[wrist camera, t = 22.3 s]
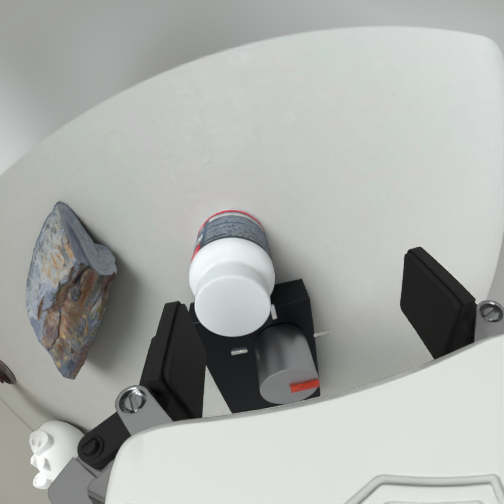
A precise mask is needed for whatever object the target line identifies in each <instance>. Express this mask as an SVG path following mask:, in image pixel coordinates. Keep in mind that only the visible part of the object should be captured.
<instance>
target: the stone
mask: <svg viewBox="0 0 504 504" xmlns="http://www.w3.org/2000/svg"><path fill="white" fill-rule="evenodd" d="M115 260H116V259H115V257H114V255H113V254H112V252H111V251H110V249H109V247H108V246H104V245H100V244H96V243H93V241H92V239H91V237H90V236H89V235H88V234H87V232H86V231H85V229H84V228H83V226H82V224H81V223H80V221H79V220H78V218H77V217H76V216H75V214H74V213H73V212H72V211H71V209H70V208H69V207H68V206H67V205H66V204H64V203H62V202H60V201H59V202H58V203H57V204H56V205H55V206H54V208H53V211H52V213H51V214H49V216H48V217H47V219H46V221H45V222H44V225H43V227H42V230H41V232H40V235H39V238H38V239H37V241H36V245H35V248H34V252H33V257H32V261H31V265H30V270H29V273H28V278H27V285H26V309H27V312H28V317H29V319H30V322H31V325H32V327H33V328H34V331H35V333H36V336H37V338H38V340H39V342H40V343H41V344H42V346H43V347H44V348H45V349H46V350H47V351H48V353H49V354H50V355H51V357H52V359H53V361H54V363H55V365H56V367H57V368H58V370H59V371H60V373H61V374H62V376H63V377H65V378H69V379H73V380H74V379H75V378H76V376H77V374H78V373H79V370H80V369H81V367H82V366H83V365H84V362H85V360H86V356H87V350H88V348H89V347H90V345H91V344H92V343H93V342H94V338H95V335H96V333H97V330H98V328H99V324H100V323H101V320H102V317H103V314H104V312H105V311H106V306H107V302H108V293H109V290H110V283H111V282H112V281H113V280H114V278H115V276H116V273H117V267H116V265H115V263H114V262H115Z"/></svg>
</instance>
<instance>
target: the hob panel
mask: <svg viewBox="0 0 504 504" xmlns="http://www.w3.org/2000/svg"><path fill="white" fill-rule="evenodd" d="M270 302H271V309H270V314H269V316H268V318H267V320H266V321H265V323H264V324H263V325H262V326H261V327H260V328H258V329H257V330H255V331H254V332H252V333H249V334H246V335H243V336H235V337H230V336H222V335H219V334H216V333H214V332H212V331H210V330H208V329H207V328H206V327H205V326H204V325H203V324H202V323H201V322H200V321H199V319H198V317H197V315H196V312H195V302H194V303H191V304H190V309H189V314H190V317H191V319H192V321H193V323H194V326H195V328H196V330H197V332H198V334H199V337H200V339H201V341H202V343H203V345H204V347H205V350H206V366H207V368H208V370H209V371H210V373H211V375H212V377H213V379H214V381H215V383H216V385H217V387H218V389H219V391H220V392H221V394H222V396H223V398H224V400H225V402H226V403H227V405H228V407H229V409H230V411H231V412H232V413H239V412H246V411H252V410H258V409H264V408H269V407H274V406H279V405H284V404H276V403H272V402H269V401H267V400H265V399H264V398H263V397H262V396H261V394H260V388H259V379H258V370H257V361H256V352H255V341H256V339H257V337H258V335H259V334H260V333H261V332H262V331H264V330H265V329H267V328H269V327H271V326H274V325H278V324H291V325H294V326H297V327H298V328H300V329H301V330H302V331H303V332H304V334H305V336H306V340H307V343H308V346H309V349H310V352H311V355H312V359H313V362H314V365H315V368H316V372H317V375H318V364H317V355H316V345H315V337H317V336H321V335H325V334H328V333H329V329H328V330H324V331H320V332H316V333H314V328H313V320H312V312H311V304H310V298H309V295H308V293H307V290H306V288H305V286H304V283H303V281H302V279H299V280H295V281H290V282H286V283H282V284H277V285H274V288H273V291H272V293H271V295H270ZM318 378H319V375H318ZM319 396H320V386H319V387H317V389H316V390H315V392H314V393H313V394H311V395H310V396H309V397H307V398H305V399H303V400H307V399H311V398H315V397H319ZM301 401H302V400H301Z"/></svg>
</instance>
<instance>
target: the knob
mask: <svg viewBox="0 0 504 504" xmlns="http://www.w3.org/2000/svg"><path fill="white" fill-rule="evenodd" d="M255 352H256V361H257V370H258V379H259V388H260V394H261V396H262V397H263V398H264V399H265V400H267V401H269V402H272V403H276V404H289V403H294V402H298V401H301V400H303V399H305V398H307V397H309V396H310V395H311V394H313V393H314V392H315V390H316V389H317V387H319V386H320V385H319V378H318V375H317V372H316V368H315V365H314V362H313V359H312V355H311V352H310V349H309V346H308V343H307V340H306V336H305V334H304V332H303V331H302V330H301V329H300V328H298V327H297V326H294V325H291V324H278V325H274V326H271V327H269V328H267V329H265V330H264V331H262V332H261V333H260V334H259V335H258V337H257V339H256V341H255Z"/></svg>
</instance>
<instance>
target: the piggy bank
mask: <svg viewBox="0 0 504 504" xmlns="http://www.w3.org/2000/svg"><path fill="white" fill-rule="evenodd" d="M83 436H84V434H83V433H82V432H81V431H80V430H79V429H77V428H76V427H74V426H72V425H70V424H68V423H65V422H62V421H49V422H46V423H44V424H43V425H42V426H41V427H40V428H39V429H38V431H34V432H33V433H32V434H31V435H30V438H29V441H30V445H31V448H32V450H33V453H34V455H33V456H32V458H31V464H32V465H33V466H35V467H37V468H38V469H39V471H40V473H38V474H37V475H36V476H35V478H34V480H33V485H34V486H35V487H36V488H38V489H47V488H49V487H50V485H51V483H52V481H54V480H55V478H56V477H57V476H58V475H59V473H60V472H61V471H62V470H63V468H64V467H65V466H66V465H67V463H68V462H69V461H70V460H71V459H72V457H74V458H77V456H78V453H77V447H78V443H79V441H80V440H81V438H82V437H83Z"/></svg>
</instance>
